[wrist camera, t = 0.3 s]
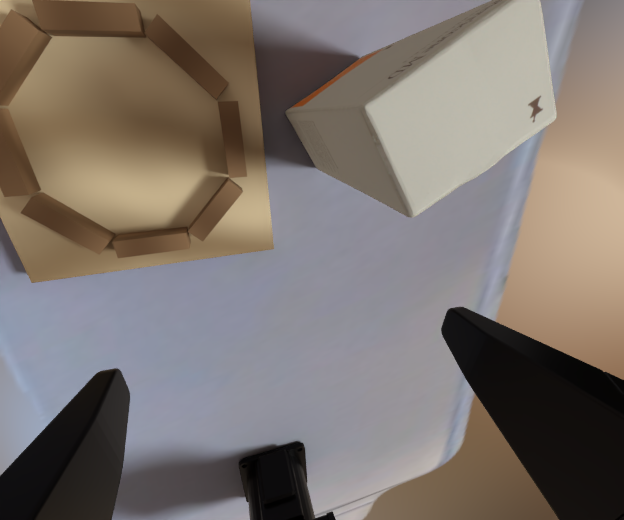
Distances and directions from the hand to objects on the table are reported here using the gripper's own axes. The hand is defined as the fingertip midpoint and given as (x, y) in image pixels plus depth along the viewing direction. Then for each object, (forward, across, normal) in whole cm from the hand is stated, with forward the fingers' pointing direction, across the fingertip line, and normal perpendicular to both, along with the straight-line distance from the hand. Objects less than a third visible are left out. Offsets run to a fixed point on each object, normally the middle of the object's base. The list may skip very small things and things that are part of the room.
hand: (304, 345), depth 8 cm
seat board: (+14, +6, -3) cm, 16 cm away
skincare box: (+15, -6, -4) cm, 16 cm away
